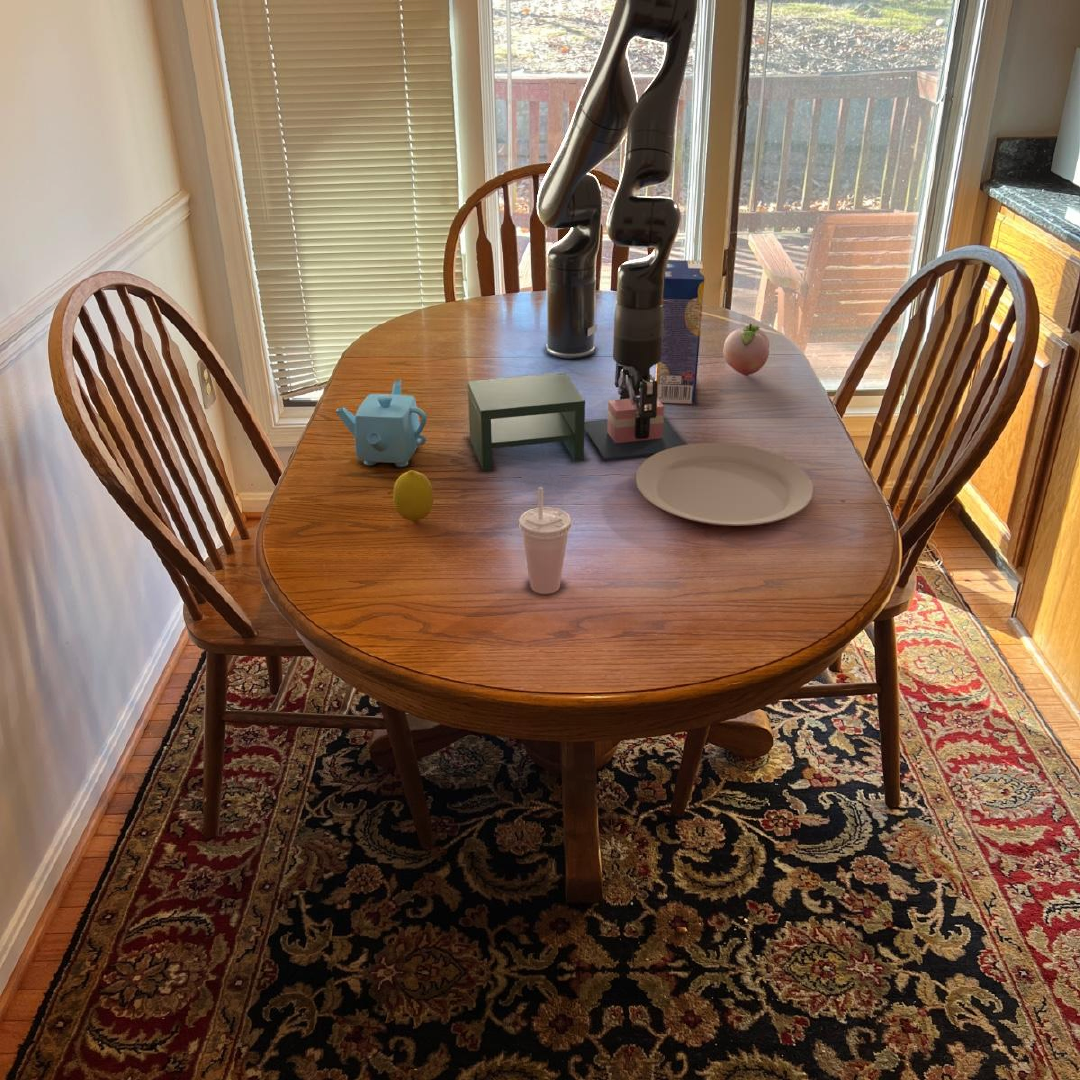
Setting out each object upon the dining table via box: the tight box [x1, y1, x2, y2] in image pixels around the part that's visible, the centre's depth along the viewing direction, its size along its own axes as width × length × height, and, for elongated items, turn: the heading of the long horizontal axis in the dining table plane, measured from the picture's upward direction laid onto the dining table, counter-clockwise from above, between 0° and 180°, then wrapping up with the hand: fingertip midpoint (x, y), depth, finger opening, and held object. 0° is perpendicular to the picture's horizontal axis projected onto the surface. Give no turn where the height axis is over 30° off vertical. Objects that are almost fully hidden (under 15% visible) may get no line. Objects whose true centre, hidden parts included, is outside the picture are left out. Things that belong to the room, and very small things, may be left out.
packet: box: [606, 398, 665, 443], centre depth 163 cm, size 4×8×6 cm, turn 103°
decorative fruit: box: [722, 323, 770, 377], centre depth 185 cm, size 9×8×10 cm
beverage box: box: [654, 259, 706, 405], centre depth 176 cm, size 7×11×22 cm, turn 175°
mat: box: [584, 418, 686, 462], centre depth 165 cm, size 14×14×1 cm
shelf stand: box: [467, 371, 586, 472], centre depth 159 cm, size 12×16×10 cm
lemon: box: [392, 469, 435, 523], centre depth 139 cm, size 6×6×8 cm
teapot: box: [335, 379, 427, 468], centre depth 157 cm, size 18×14×10 cm
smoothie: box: [518, 486, 572, 595], centre depth 124 cm, size 6×6×14 cm
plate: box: [635, 442, 814, 527], centre depth 148 cm, size 26×26×2 cm
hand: (633, 427), depth 164 cm, fingers open, 8 cm apart
